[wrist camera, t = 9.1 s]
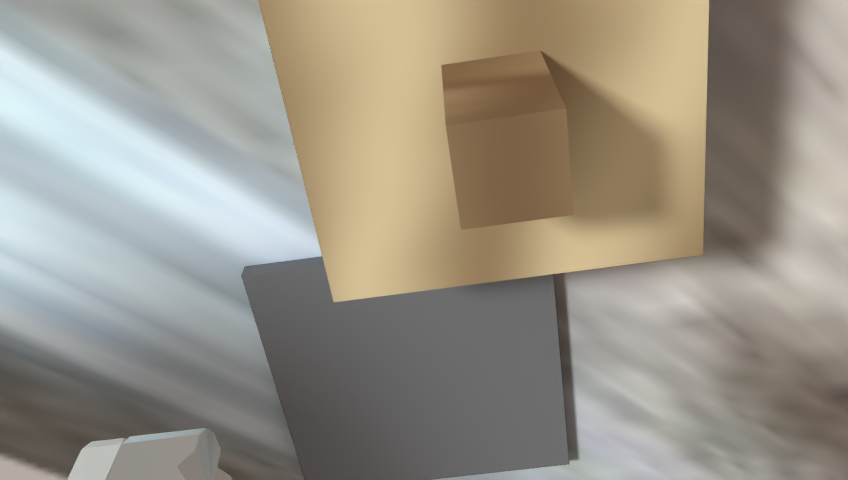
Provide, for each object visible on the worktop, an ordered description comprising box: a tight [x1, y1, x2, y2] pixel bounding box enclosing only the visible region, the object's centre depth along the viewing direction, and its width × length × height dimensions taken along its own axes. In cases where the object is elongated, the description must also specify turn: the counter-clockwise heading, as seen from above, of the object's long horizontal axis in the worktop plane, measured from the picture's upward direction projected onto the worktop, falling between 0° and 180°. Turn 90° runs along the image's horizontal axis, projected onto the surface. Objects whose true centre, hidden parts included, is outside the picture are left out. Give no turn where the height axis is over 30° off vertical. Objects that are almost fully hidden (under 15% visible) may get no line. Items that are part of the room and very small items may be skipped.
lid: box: [258, 0, 709, 302], centre depth 18 cm, size 10×10×5 cm
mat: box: [241, 257, 569, 480], centre depth 31 cm, size 11×11×1 cm
